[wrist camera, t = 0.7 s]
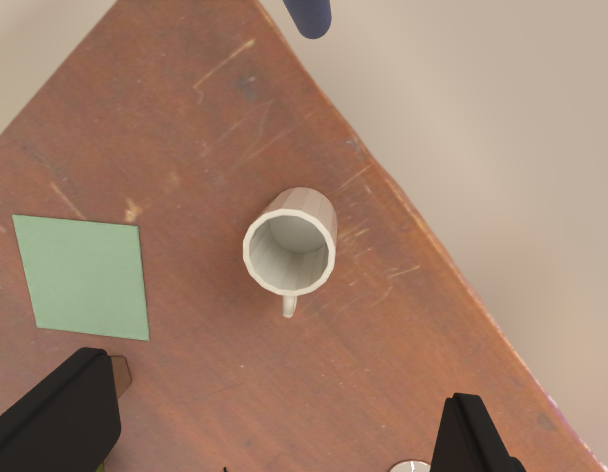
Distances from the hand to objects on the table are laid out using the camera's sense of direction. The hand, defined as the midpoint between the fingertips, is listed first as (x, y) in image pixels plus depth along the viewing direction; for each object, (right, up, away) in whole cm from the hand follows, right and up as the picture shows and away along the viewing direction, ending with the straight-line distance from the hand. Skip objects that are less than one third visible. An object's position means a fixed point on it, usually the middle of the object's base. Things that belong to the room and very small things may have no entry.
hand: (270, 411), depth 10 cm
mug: (+1, +5, +25) cm, 25 cm away
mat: (-24, 0, +29) cm, 38 cm away
